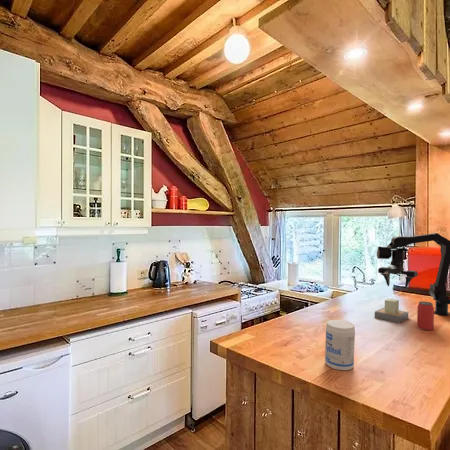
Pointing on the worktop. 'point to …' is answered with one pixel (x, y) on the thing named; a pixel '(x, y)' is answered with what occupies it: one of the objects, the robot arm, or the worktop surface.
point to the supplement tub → (340, 344)
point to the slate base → (391, 315)
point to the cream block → (391, 305)
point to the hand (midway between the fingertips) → (397, 287)
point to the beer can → (425, 316)
